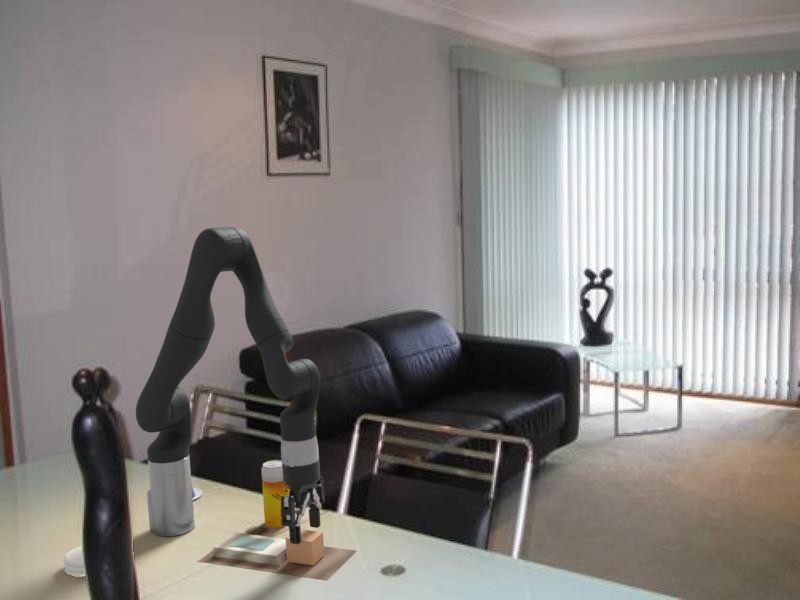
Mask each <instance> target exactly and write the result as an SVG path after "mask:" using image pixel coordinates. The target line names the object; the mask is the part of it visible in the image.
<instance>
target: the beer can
mask: <svg viewBox="0 0 800 600" xmlns="http://www.w3.org/2000/svg"><path fill="white" fill-rule="evenodd" d="M261 486H262V497H263V498H262V499H263V514H264V515H263V516H264V525H265V526H266V527H267V528H273V529H278V528H283V527H284V528H285V526H282V518H281V497H282V496H288V495H289V490H290V487H289V486H288V485H287V484H285V483H284V481H283V470H282V459H280V460H279V459H274V460H273V459H272V460H268V461H266V462H263V463H262V467H261ZM286 516H287V518H288V515H286Z"/></svg>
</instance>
